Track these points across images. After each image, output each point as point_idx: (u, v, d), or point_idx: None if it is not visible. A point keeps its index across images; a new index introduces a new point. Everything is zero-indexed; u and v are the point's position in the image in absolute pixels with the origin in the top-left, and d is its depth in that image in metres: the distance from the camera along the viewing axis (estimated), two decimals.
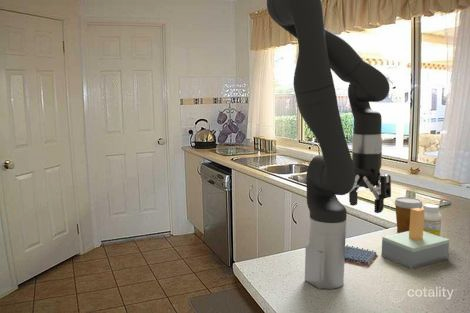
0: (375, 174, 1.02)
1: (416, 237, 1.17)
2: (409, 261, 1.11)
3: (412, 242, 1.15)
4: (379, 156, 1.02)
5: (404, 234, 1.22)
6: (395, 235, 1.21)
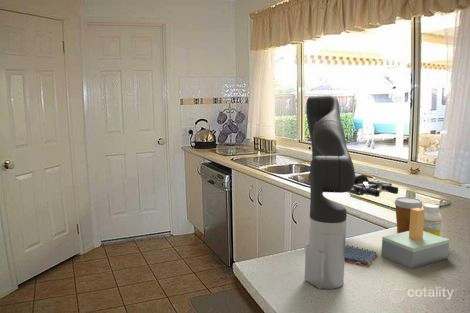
0: None
1: (416, 237, 1.17)
2: (409, 261, 1.11)
3: (412, 242, 1.15)
4: None
5: (404, 234, 1.22)
6: (395, 235, 1.21)
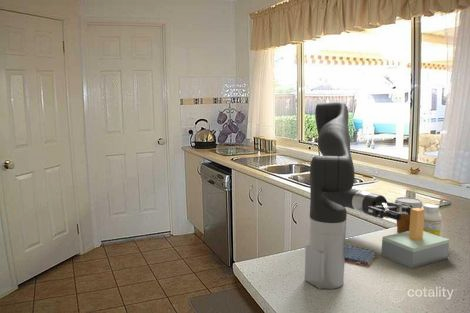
0: None
1: (416, 237, 1.17)
2: (409, 261, 1.11)
3: (412, 242, 1.15)
4: None
5: (404, 234, 1.22)
6: (395, 235, 1.21)
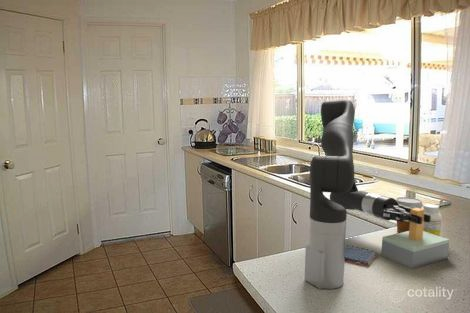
0: None
1: (416, 237, 1.17)
2: (409, 261, 1.11)
3: (412, 242, 1.15)
4: None
5: (404, 234, 1.21)
6: (395, 235, 1.21)
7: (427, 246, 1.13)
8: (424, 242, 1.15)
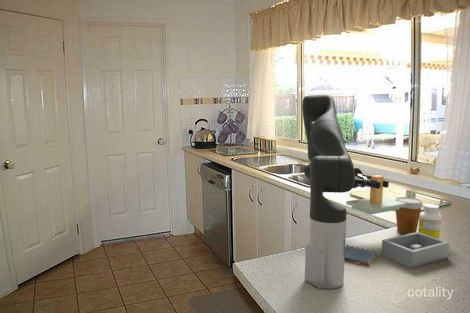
0: None
1: (376, 201, 1.29)
2: (409, 261, 1.11)
3: (371, 205, 1.27)
4: None
5: (366, 199, 1.34)
6: (358, 200, 1.33)
7: (384, 208, 1.25)
8: (382, 205, 1.28)
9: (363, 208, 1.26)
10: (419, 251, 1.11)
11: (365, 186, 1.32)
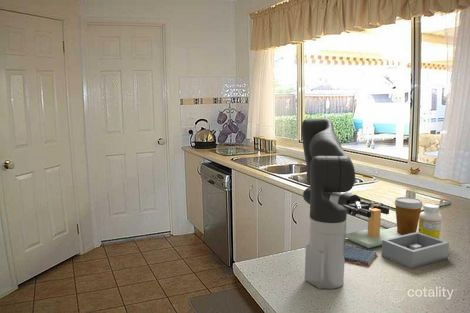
0: None
1: (373, 234, 1.31)
2: (409, 261, 1.11)
3: (369, 239, 1.29)
4: None
5: (364, 232, 1.36)
6: (356, 233, 1.35)
7: None
8: (380, 239, 1.29)
9: (361, 242, 1.27)
10: (419, 251, 1.11)
11: None
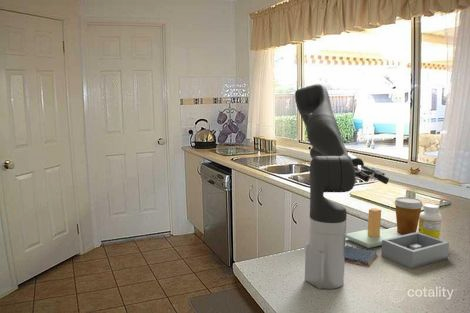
0: None
1: (373, 234, 1.31)
2: (409, 261, 1.11)
3: (369, 239, 1.29)
4: None
5: (364, 232, 1.36)
6: (356, 232, 1.35)
7: None
8: (380, 239, 1.29)
9: (361, 242, 1.27)
10: (419, 251, 1.11)
11: None
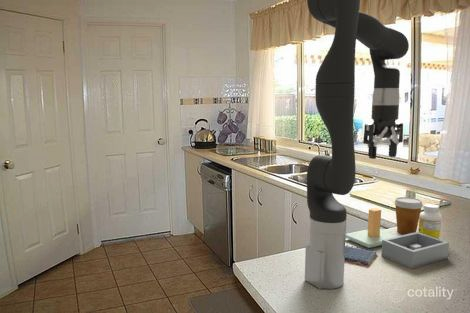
0: (395, 123, 1.18)
1: (373, 234, 1.31)
2: (409, 261, 1.11)
3: (369, 239, 1.29)
4: None
5: (364, 232, 1.36)
6: (356, 232, 1.35)
7: None
8: (380, 239, 1.29)
9: (361, 242, 1.27)
10: (419, 251, 1.11)
11: None
